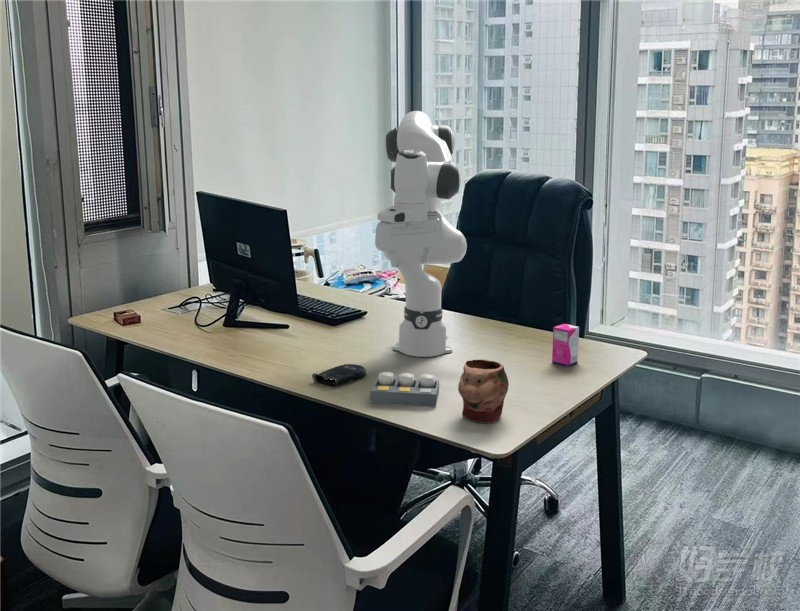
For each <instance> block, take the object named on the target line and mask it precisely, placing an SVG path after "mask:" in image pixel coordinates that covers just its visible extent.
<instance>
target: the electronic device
mask: <svg viewBox="0 0 800 611" xmlns="http://www.w3.org/2000/svg"><path fill="white" fill-rule="evenodd" d="M367 374H368V373H367V369H366V368H365V367H364V366H363V365H361V364H360V365H359V364H355V363H352V364H351V363H345V364H342V365H341V364H340V365H337V366H334V367H332V368H329V369H326V370H325V371H321V372H320V373H312V374H311V377H312V380H313V383H318V384H319V385H323V386H326V387H331V388H337V387H338V386H341V385H344V384H348V383H349V382H354V381H358V380H361V379H363V378H364V377H366V375H367ZM330 379H332V380H330ZM334 380H335V382H333V381H334ZM324 381H326V382H324ZM333 383H334V384H333Z"/></svg>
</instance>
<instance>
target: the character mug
mask: <svg viewBox="0 0 800 611" xmlns="http://www.w3.org/2000/svg"><path fill="white" fill-rule="evenodd" d="M509 384H510V383H509V377H508V374H507V373H506V370H505V366H504V365H503V363H501V362H499V361H495V360H489V359H483V358H482V359H470V360H467V361H466V362H464V366H463V371H462V373H461V376H460V379H459V381H458V385H457V390H458V393H459V395H460V397H461V398H462V401H463V402H462V403H463V404H462V406H463V408H462V414H461V415H462V416H463V418H465V419H466V420H469V421H471V422H476V423H485V424H487V423H489V424H490V423H495V422H497V421H498V420H500V417H501V416H502V413H503V408H504V402H505V399H506V396H507V394H508V392H509Z"/></svg>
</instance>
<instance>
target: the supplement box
mask: <svg viewBox="0 0 800 611" xmlns="http://www.w3.org/2000/svg"><path fill="white" fill-rule="evenodd" d="M579 335H580V326H577V325H572V324H568V323H567V324H566V323H562V324H559V325H555V326H554V327H552V350H551V351H552V353H551V354H552V358H551V363H552V362H553V363H552V364H556V363H557V364H556V365H559V364H561V365H560V366H563V365H564V366H563V367H566V366H568V367H570V366H572V364H573V365H575V364H574V363H576V362H578V359H579V358H578V357H579V340H580V339H579V338H580V336H579ZM578 363H579V362H578ZM576 364H577V363H576ZM569 365H570V366H569Z"/></svg>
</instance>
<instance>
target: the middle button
mask: <svg viewBox="0 0 800 611" xmlns="http://www.w3.org/2000/svg"><path fill="white" fill-rule="evenodd" d="M398 376H399V385H400V386H403V387H411V386H413V385H414V379H415V375H414V374H413V373H410V372H403V373H401V374H399V375H398Z"/></svg>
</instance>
